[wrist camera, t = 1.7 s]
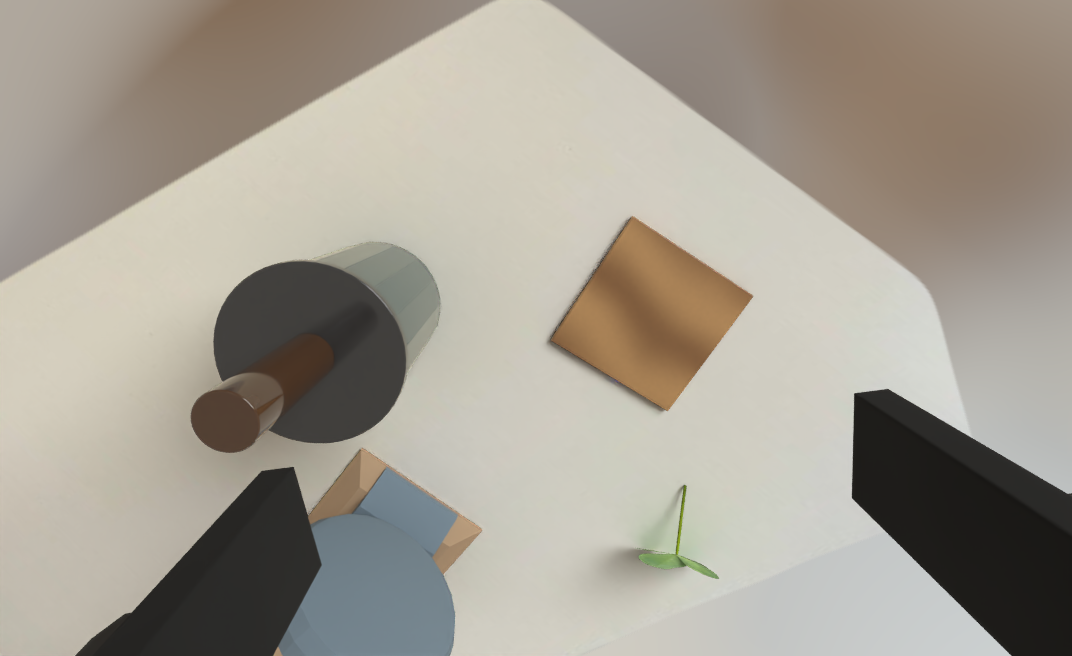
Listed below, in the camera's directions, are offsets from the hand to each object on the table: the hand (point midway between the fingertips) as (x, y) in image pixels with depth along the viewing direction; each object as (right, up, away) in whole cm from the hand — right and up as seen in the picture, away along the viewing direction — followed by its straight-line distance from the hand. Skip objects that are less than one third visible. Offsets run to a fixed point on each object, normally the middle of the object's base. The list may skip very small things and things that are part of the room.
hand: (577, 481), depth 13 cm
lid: (-13, +2, +16) cm, 21 cm away
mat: (+8, +4, +28) cm, 30 cm away
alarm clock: (-13, -13, +33) cm, 38 cm away
